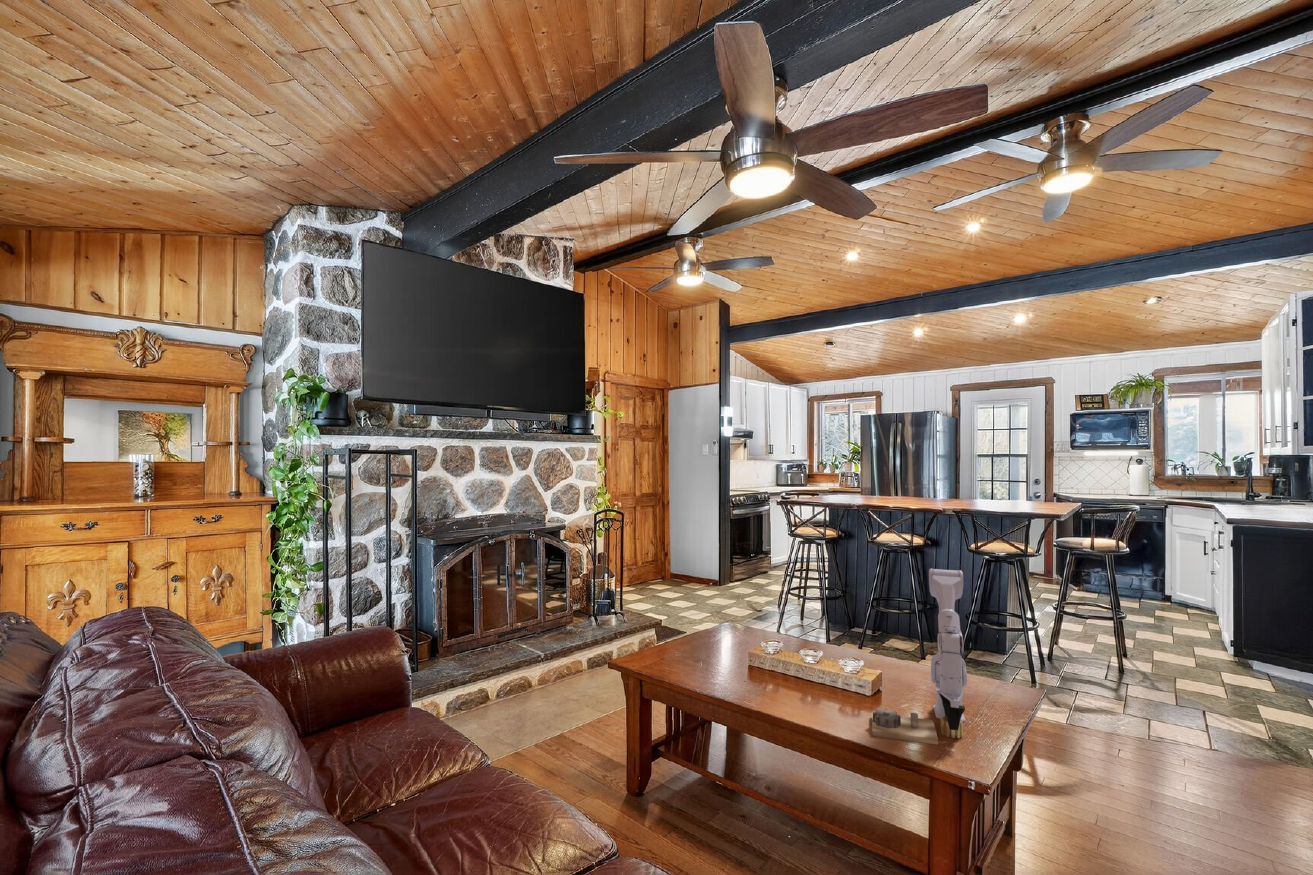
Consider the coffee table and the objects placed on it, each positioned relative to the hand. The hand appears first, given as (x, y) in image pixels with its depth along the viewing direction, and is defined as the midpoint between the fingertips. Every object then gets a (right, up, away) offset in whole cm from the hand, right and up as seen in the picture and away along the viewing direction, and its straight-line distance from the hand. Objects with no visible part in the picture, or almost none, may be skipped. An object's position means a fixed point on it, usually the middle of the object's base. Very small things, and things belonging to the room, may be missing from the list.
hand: (951, 723), depth 173 cm
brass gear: (0, -3, 0) cm, 3 cm away
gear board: (-13, -3, +2) cm, 13 cm away
